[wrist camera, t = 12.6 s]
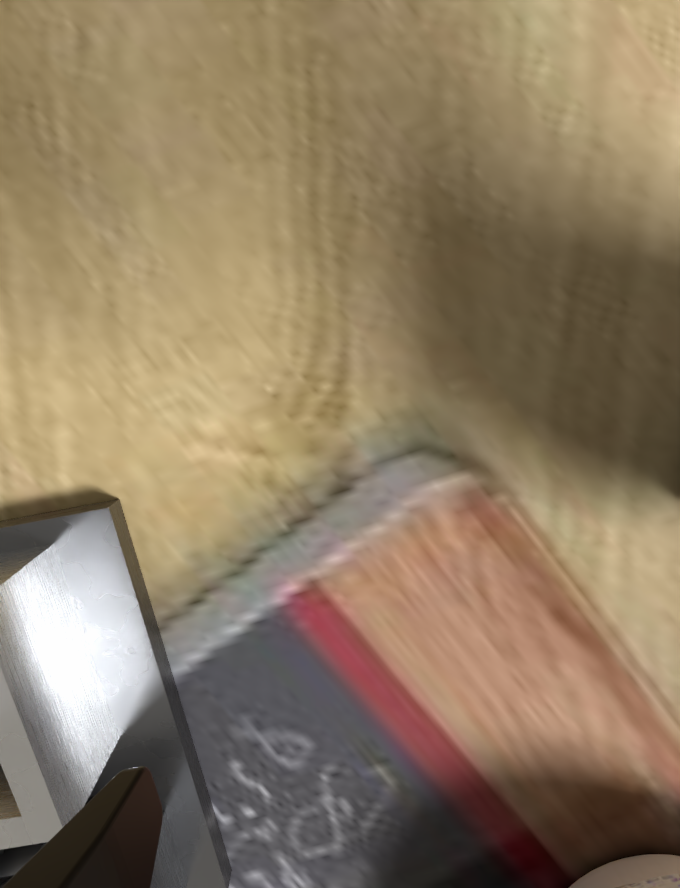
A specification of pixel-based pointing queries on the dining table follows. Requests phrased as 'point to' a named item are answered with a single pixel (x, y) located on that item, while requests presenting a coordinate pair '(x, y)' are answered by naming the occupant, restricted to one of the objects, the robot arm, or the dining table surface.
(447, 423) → the dining table surface
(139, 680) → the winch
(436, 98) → the dining table surface
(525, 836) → the dining table surface
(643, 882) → the paper bowls
